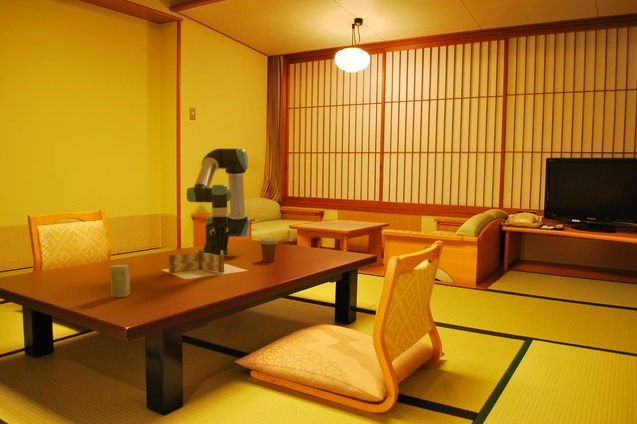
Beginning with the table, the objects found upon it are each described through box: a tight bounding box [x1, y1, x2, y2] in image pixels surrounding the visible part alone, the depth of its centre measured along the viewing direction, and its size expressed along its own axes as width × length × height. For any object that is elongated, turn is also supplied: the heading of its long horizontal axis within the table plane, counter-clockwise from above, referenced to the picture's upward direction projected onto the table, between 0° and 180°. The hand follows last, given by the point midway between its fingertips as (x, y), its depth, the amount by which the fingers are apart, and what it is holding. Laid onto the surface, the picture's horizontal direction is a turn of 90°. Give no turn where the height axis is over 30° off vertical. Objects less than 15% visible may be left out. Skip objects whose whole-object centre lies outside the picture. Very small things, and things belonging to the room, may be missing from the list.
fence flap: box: [202, 253, 225, 273], centre depth 249 cm, size 15×2×9 cm, turn 52°
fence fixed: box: [168, 249, 203, 274], centre depth 250 cm, size 18×2×9 cm, turn 130°
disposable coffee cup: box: [260, 238, 278, 262], centre depth 284 cm, size 10×10×12 cm
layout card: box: [161, 263, 249, 280], centre depth 252 cm, size 28×34×1 cm
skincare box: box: [109, 264, 131, 298], centre depth 200 cm, size 6×4×12 cm
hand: (220, 262), depth 250 cm, fingers closed
